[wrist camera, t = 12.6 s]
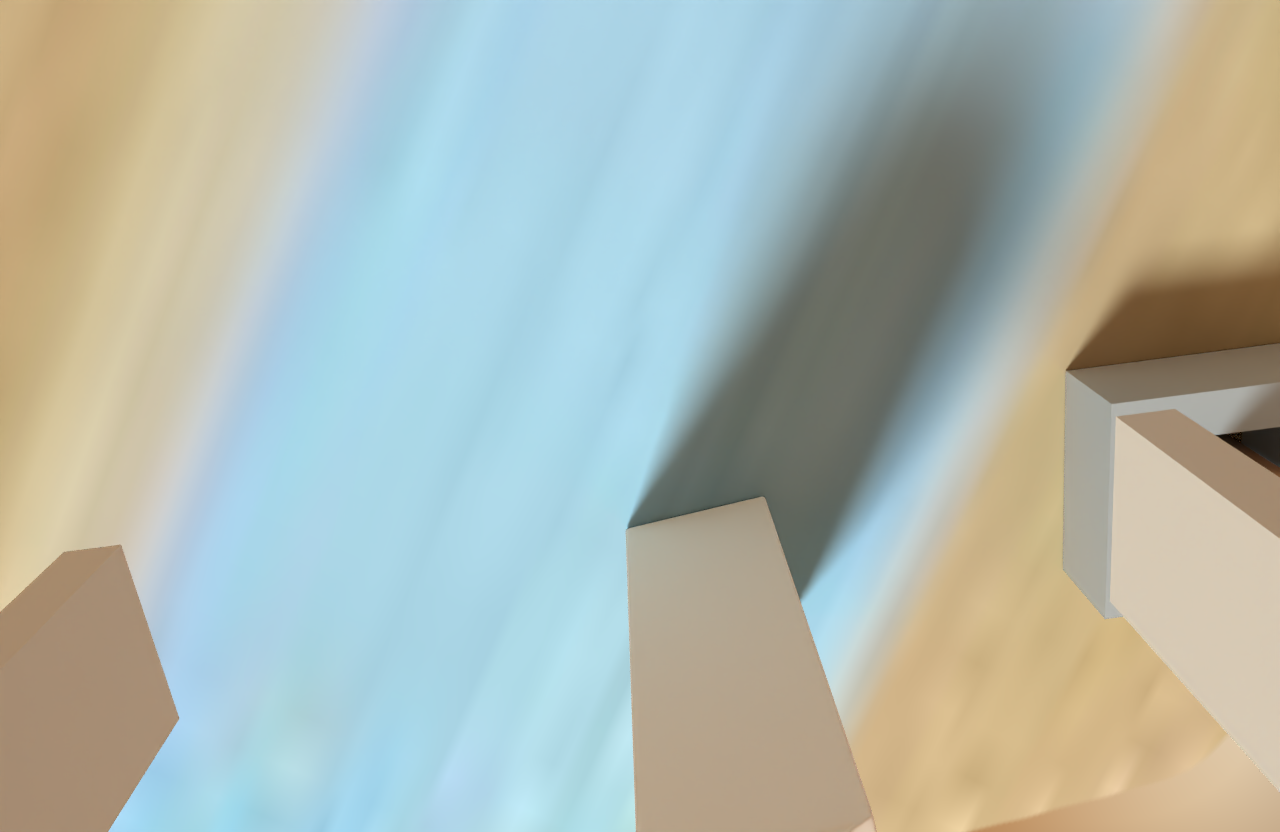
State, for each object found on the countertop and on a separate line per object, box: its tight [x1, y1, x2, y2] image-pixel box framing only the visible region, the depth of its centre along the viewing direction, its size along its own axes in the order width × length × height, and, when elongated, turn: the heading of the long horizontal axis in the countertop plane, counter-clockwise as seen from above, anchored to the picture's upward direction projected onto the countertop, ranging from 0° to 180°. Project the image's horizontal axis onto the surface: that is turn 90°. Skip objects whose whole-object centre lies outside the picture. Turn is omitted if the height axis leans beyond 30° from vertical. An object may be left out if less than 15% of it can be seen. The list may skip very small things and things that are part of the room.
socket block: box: [1063, 343, 1280, 619], centre depth 41 cm, size 9×9×4 cm
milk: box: [626, 497, 877, 832], centre depth 34 cm, size 6×6×22 cm
